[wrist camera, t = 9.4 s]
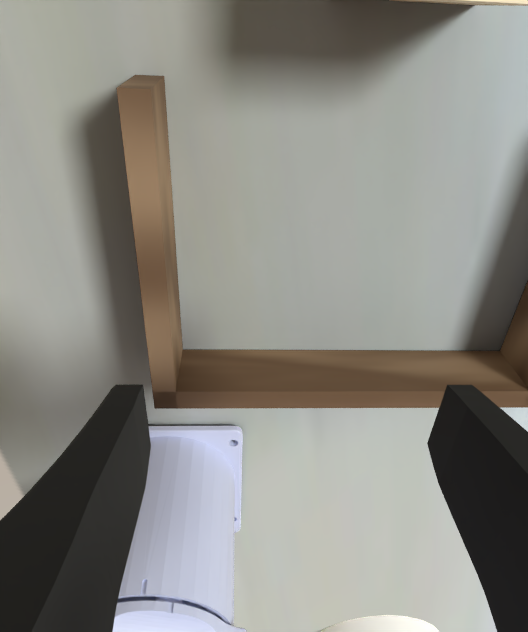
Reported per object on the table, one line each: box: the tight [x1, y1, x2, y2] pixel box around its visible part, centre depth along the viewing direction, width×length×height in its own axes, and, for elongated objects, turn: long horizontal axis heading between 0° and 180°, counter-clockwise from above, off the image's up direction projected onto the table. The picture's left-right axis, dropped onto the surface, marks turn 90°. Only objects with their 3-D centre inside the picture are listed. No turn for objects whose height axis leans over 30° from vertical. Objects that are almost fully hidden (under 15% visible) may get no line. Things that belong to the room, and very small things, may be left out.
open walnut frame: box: [117, 75, 528, 408], centre depth 19 cm, size 13×18×3 cm
